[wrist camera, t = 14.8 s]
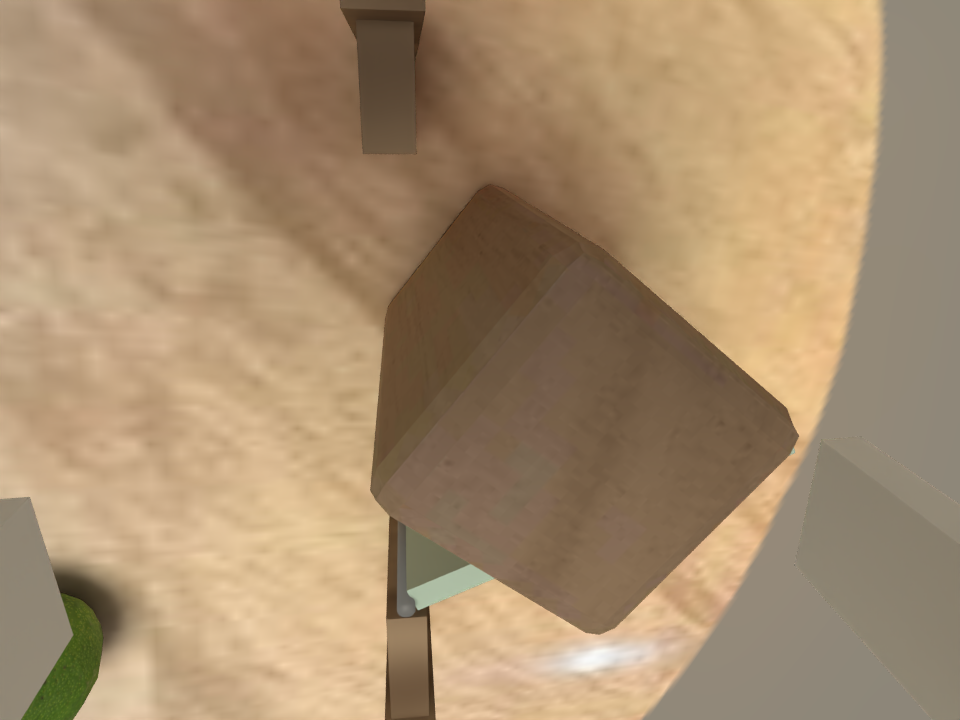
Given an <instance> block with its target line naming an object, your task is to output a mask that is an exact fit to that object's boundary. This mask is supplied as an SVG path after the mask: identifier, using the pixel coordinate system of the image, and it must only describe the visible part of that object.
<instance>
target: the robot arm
mask: <svg viewBox="0 0 960 720" xmlns="http://www.w3.org/2000/svg"><path fill="white" fill-rule="evenodd" d="M795 567H797V569H798V570H799V571H800V572H801V573H802V574H803V575H804V577H805V578H806V579H807V580H808V581H809V582H810V583H811V585H812V586H813V587H814V588H815V589H816V590H817V591H818V592H819V593H820V595H821V596H822V597H823V598H824V599H825V600H826V601H827V603H828V604H829V605H830V606H831V607H832V608H833V609H834V610H835V612H836V613H837V614H838V615H839V616H840V617H841V618H842V619H843V621H844V622H845V623H846V624H847V625H848V626H849V627H850V628H851V629H852V631H853V632H854V633H855V634H856V635H857V636H858V637H859V639H860V640H861V641H862V642H863V643H864V644H865V645H866V646H867V648H868V649H869V650H870V651H871V652H872V653H873V654H874V655H875V657H876V658H877V659H878V660H879V661H880V662H881V663H882V664H883V666H884V667H885V668H886V669H887V670H888V671H889V672H890V673H891V675H892V676H893V677H894V678H895V679H896V680H897V681H898V682H899V684H900V685H901V686H902V687H903V688H904V689H905V690H906V691H907V693H908V694H909V695H910V696H911V697H912V698H913V699H914V700H915V701H916V703H917V704H918V705H919V706H920V707H921V708H922V709H923V711H924V712H925V713H926V714H927V715H928V716H929V717H930V718H931V719H932V720H960V504H958V503H957V502H955V501H954V500H952V499H951V498H949V497H948V496H946V495H945V494H943V493H942V492H941V491H939V490H938V489H936V488H935V487H934V486H932V485H931V484H929V483H928V482H926V481H925V480H923V479H922V478H920V477H919V476H917V475H916V474H915V473H913V472H912V471H910V470H909V469H907V468H906V467H904V466H903V465H902V464H900V463H899V462H897V461H896V460H894V459H893V458H891V457H890V456H888V455H887V454H886V453H884V452H883V451H881V450H880V449H878V448H877V447H875V446H874V445H873V444H871V443H870V442H868V441H867V440H865V439H864V438H862V437H848V438H834V439H822V440H821V443H820V448H819V452H818V457H817V462H816V466H815V472H814V476H813V480H812V485H811V490H810V494H809V499H808V504H807V508H806V514H805V518H804V523H803V527H802V532H801V537H800V541H799V546H798V551H797V555H796V560H795ZM72 636H73V632H72V629H71V626H70V623H69V620H68V617H67V613H66V610H65V607H64V604H63V601H62V598H61V594H60V591H59V588H58V585H57V582H56V579H55V575H54V572H53V569H52V566H51V563H50V560H49V556H48V553H47V550H46V547H45V544H44V541H43V537H42V534H41V531H40V528H39V525H38V522H37V518H36V515H35V512H34V509H33V506H32V503H31V499H30V497H24V498H10V499H0V720H21V719H22V717H23V716H24V714H25V712H26V711H27V709H28V708H29V706H30V704H31V703H32V701H33V699H34V698H35V696H36V695H37V693H38V691H39V690H40V688H41V687H42V685H43V683H44V682H45V680H46V678H47V677H48V675H49V674H50V672H51V670H52V669H53V667H54V666H55V664H56V662H57V661H58V659H59V657H60V656H61V654H62V653H63V651H64V649H65V648H66V646H67V645H68V643H69V641H70V640H71V638H72Z"/></svg>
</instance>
